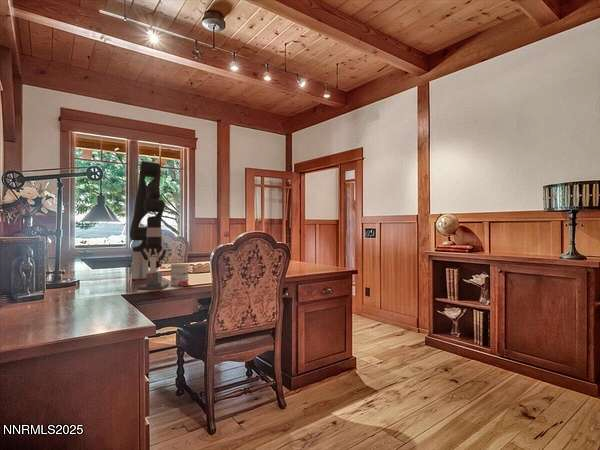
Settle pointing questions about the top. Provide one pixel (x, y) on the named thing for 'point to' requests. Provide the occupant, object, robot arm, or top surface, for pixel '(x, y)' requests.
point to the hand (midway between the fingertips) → (153, 267)
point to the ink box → (179, 274)
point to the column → (153, 264)
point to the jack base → (153, 282)
